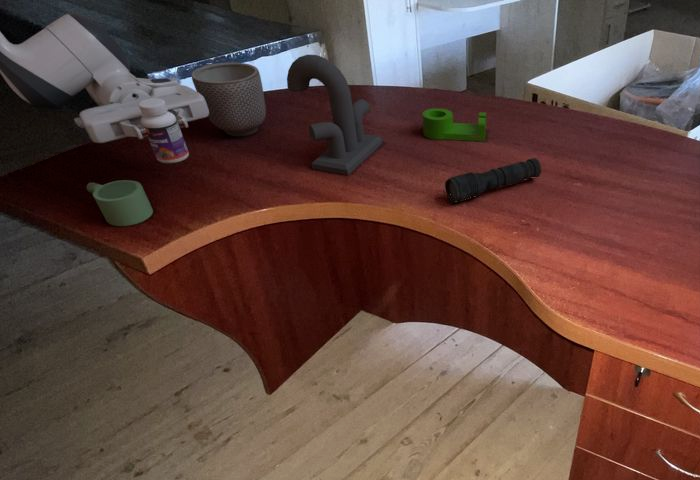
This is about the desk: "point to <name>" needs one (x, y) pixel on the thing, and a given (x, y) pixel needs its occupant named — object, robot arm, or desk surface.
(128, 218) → the scoop
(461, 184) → the flashlight
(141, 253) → the desk surface
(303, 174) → the desk surface
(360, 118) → the faucet
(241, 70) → the planter
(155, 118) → the pill bottle
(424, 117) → the tape dispenser
